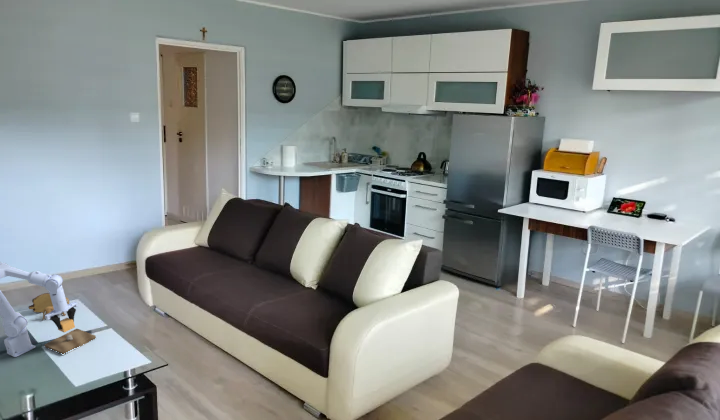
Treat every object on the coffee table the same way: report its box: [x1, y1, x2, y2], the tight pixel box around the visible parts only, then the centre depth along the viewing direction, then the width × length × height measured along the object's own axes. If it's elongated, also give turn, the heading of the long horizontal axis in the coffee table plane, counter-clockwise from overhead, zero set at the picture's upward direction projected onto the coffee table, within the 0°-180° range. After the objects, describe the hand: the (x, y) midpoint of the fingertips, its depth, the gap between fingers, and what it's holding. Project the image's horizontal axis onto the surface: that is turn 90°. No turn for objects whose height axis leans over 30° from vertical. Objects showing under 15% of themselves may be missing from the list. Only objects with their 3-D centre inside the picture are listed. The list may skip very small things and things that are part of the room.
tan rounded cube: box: [57, 317, 76, 333], centre depth 244 cm, size 5×5×4 cm
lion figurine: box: [40, 296, 70, 321], centre depth 273 cm, size 15×5×9 cm, turn 132°
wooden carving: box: [27, 292, 53, 313], centre depth 281 cm, size 16×5×10 cm, turn 141°
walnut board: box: [44, 328, 97, 354], centre depth 246 cm, size 16×16×4 cm
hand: (66, 326), depth 244 cm, fingers closed on tan rounded cube, 5 cm apart
